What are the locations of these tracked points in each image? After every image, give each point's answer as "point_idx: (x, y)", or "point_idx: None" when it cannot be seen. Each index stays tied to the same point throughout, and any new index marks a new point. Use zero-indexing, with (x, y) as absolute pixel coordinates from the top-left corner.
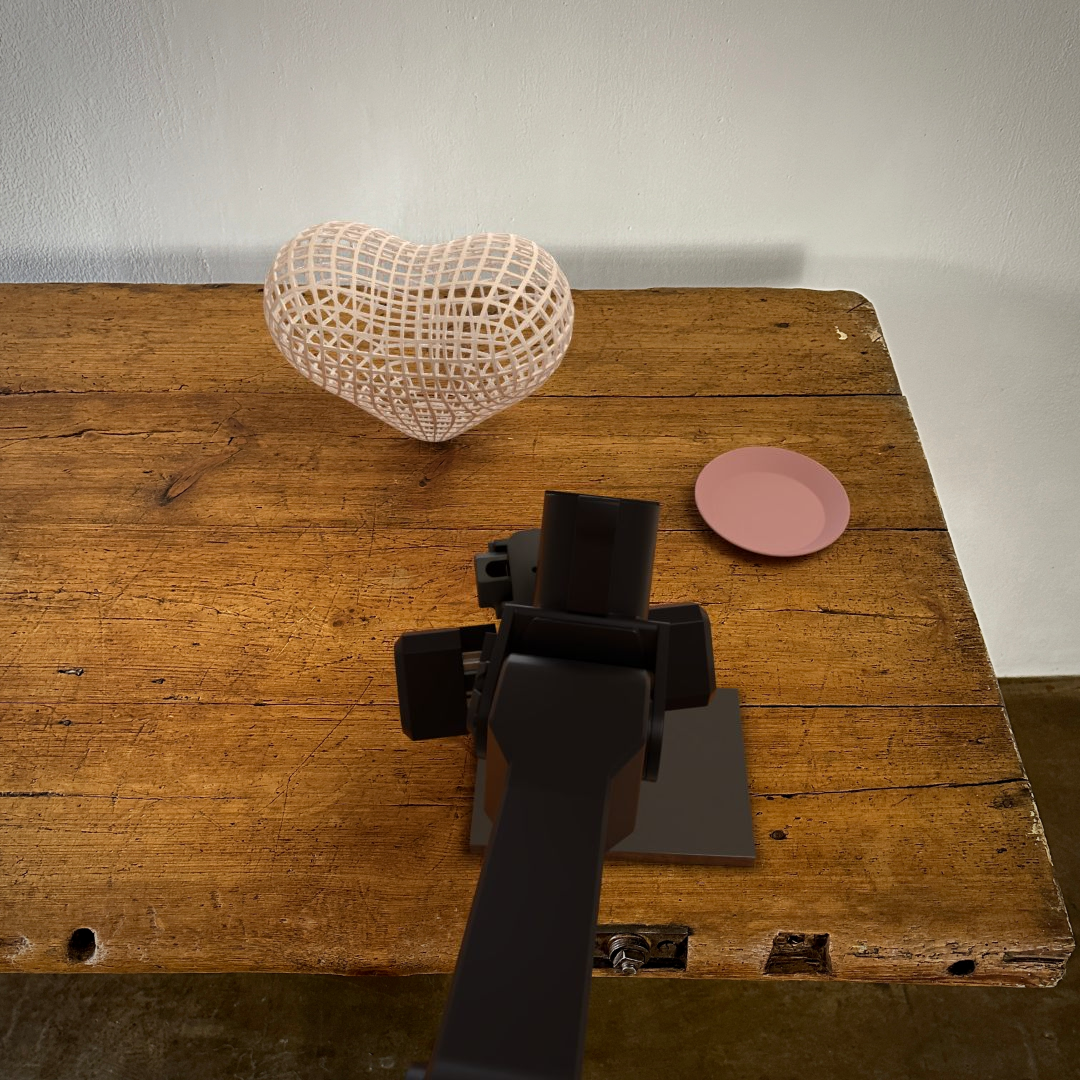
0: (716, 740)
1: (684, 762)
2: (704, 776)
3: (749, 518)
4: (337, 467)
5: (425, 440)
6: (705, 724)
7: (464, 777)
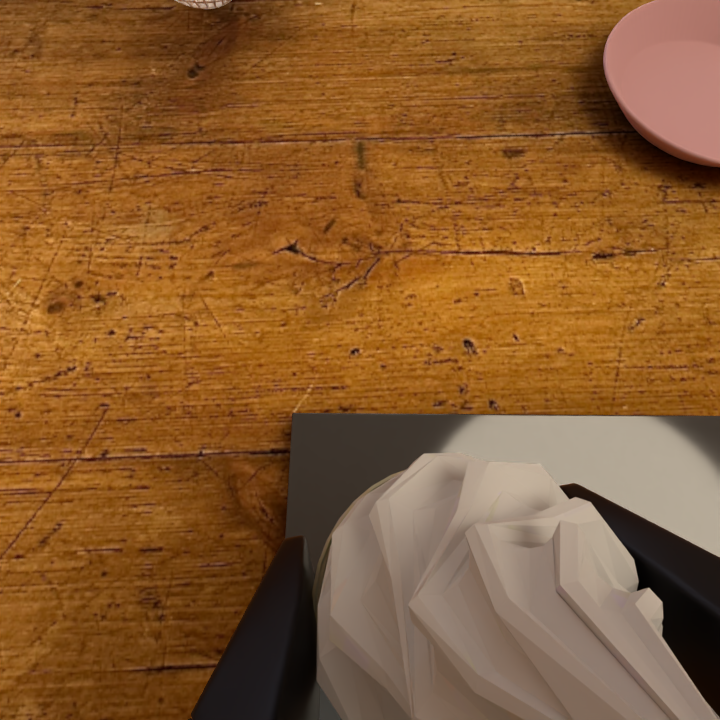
0: (712, 527)
1: None
2: None
3: (678, 111)
4: (68, 52)
5: (194, 6)
6: (685, 493)
7: None
